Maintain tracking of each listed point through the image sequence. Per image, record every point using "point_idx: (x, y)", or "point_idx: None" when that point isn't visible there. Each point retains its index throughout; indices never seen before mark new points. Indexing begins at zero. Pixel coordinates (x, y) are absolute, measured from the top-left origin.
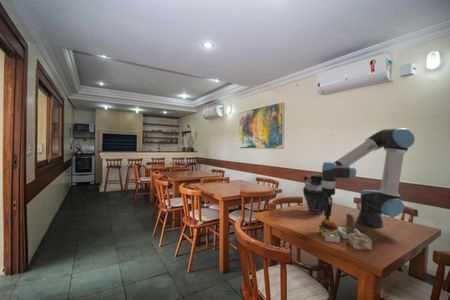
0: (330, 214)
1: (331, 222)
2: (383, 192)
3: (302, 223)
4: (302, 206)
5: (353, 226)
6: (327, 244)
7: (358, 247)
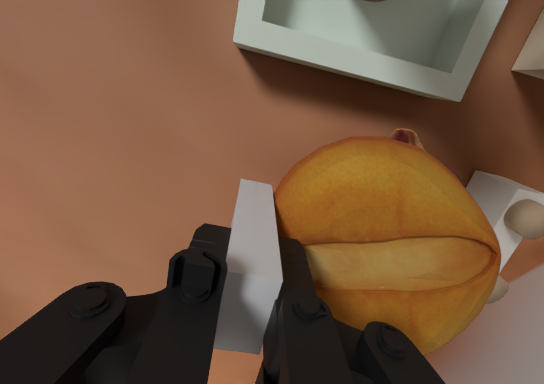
0: (425, 369)
1: (485, 295)
2: None
3: None
4: None
5: None
6: (503, 275)
7: None
